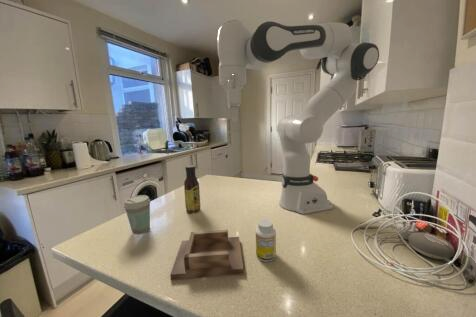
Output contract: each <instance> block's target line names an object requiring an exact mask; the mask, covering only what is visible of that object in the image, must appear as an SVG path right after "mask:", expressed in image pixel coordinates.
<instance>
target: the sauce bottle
mask: <svg viewBox="0 0 476 317" xmlns="http://www.w3.org/2000/svg"><path fill="white" fill-rule="evenodd" d="M185 174H186V175H185V177H186V178H185V179H184V182H183V185H184V188H183V190H184V201H185V202H184V203H185V209H186V210H185V211H186V213H187V214H190V215H191V214H192V215H193V214H198V213H199V212H200V211H201V193H200V183H199V181H198V178H197V175H196V165H193V164H191V165H186V166H185Z"/></svg>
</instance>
